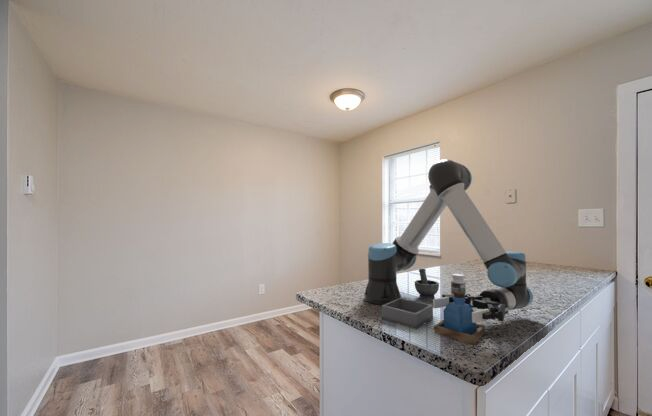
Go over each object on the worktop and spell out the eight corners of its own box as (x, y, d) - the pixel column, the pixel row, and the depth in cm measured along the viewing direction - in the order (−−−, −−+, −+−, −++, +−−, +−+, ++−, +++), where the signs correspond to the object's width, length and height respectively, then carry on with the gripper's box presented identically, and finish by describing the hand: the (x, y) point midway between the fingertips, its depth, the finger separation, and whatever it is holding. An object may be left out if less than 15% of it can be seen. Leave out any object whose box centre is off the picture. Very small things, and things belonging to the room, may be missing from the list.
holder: (434, 333, 83) (434, 326, 83) (447, 323, 91) (447, 316, 91) (474, 344, 75) (474, 337, 75) (485, 332, 83) (485, 325, 83)
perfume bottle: (461, 338, 79) (460, 296, 80) (443, 330, 85) (443, 291, 85) (476, 335, 82) (475, 294, 82) (458, 327, 87) (457, 289, 88)
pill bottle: (448, 296, 122) (447, 274, 122) (457, 295, 124) (457, 273, 124) (459, 300, 117) (458, 276, 117) (468, 298, 119) (468, 275, 119)
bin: (381, 318, 95) (381, 305, 95) (399, 310, 104) (399, 298, 104) (416, 329, 86) (416, 314, 86) (433, 318, 95) (432, 305, 95)
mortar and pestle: (442, 301, 114) (442, 272, 115) (420, 301, 114) (420, 272, 115) (431, 294, 126) (431, 267, 126) (411, 294, 125) (410, 267, 126)
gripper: (539, 325, 80) (493, 339, 71) (463, 302, 102) (420, 310, 93) (538, 299, 80) (493, 309, 71) (462, 281, 103) (420, 288, 93)
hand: (451, 310), depth 82 cm, fingers open, 13 cm apart
